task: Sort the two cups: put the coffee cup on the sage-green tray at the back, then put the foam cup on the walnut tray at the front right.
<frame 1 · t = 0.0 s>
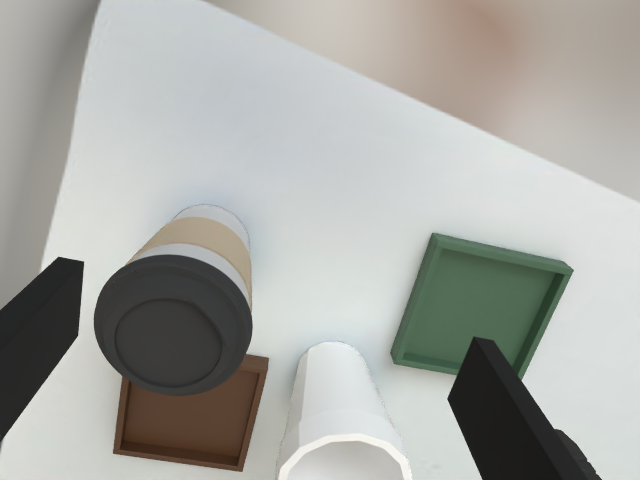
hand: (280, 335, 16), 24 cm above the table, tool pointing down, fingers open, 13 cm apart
sage tray: (474, 308, 44), on the table
coffee cup: (208, 243, 41), on the table
walnut tray: (191, 400, 46), on the table
foam cup: (330, 368, 46), on the table
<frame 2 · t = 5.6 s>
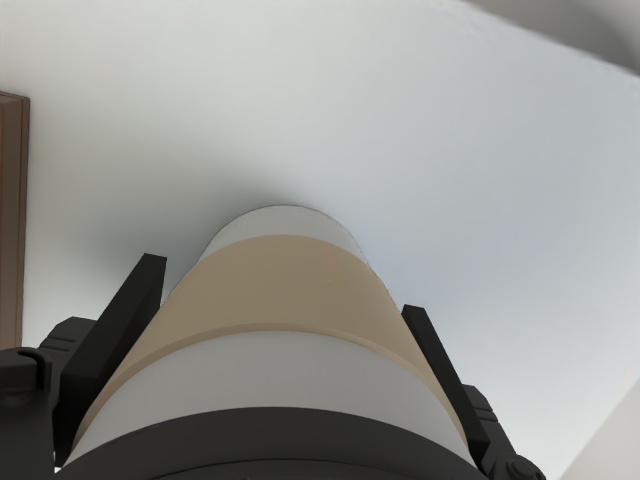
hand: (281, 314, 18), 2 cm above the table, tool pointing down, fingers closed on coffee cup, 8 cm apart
coffee cup: (283, 282, 20), on the table, touching gripper
when the fingers open (3 cm above the table, at t = 14.2 s): coffee cup stays where it is, resting on sage tray.
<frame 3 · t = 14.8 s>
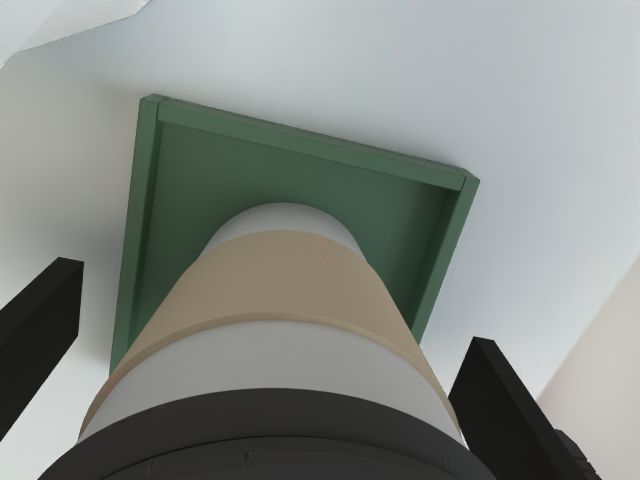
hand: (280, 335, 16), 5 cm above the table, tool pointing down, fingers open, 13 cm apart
sage tray: (282, 274, 21), on the table
coffee cup: (282, 278, 20), resting on sage tray
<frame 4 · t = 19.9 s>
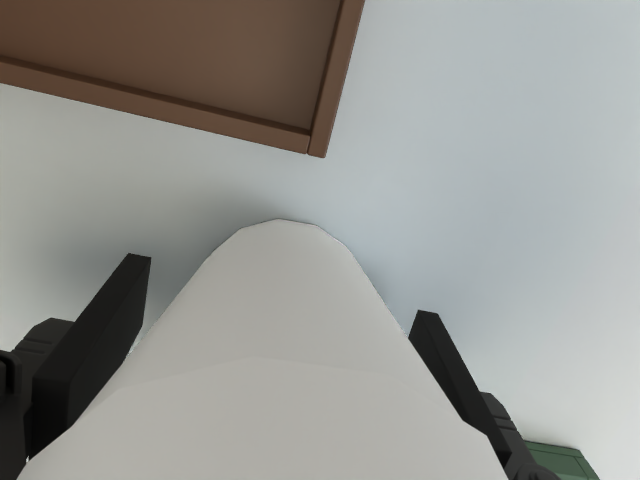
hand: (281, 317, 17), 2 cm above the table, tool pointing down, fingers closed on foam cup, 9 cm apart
foam cup: (282, 294, 19), on the table, touching gripper
when the fingers open (2 cm above the table, at t = 28.0 s): foam cup stays where it is, resting on walnut tray.
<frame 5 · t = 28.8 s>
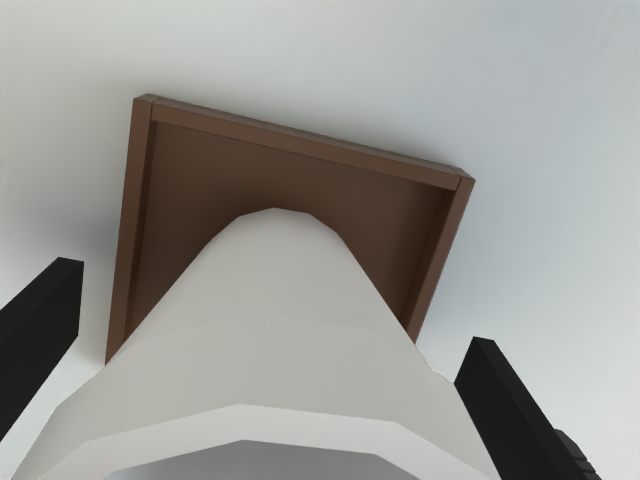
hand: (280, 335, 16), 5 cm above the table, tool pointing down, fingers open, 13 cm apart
walnut tray: (277, 275, 21), on the table
foam cup: (277, 278, 20), resting on walnut tray
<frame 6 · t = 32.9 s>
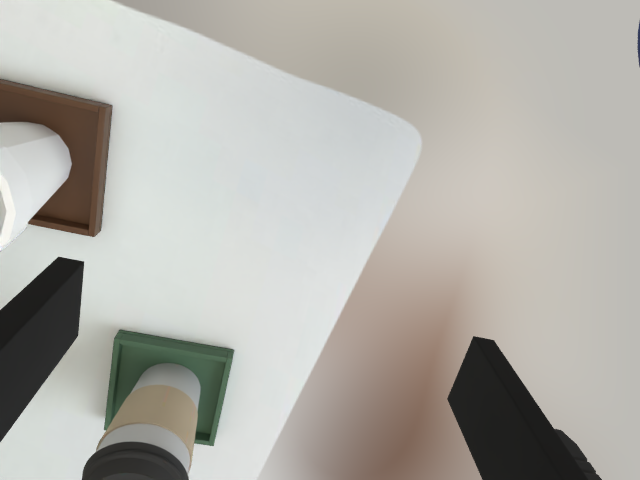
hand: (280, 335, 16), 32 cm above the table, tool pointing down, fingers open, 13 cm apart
sage tray: (170, 385, 55), on the table
coffee cup: (169, 387, 55), resting on sage tray
walnut tray: (37, 156, 45), on the table
foam cup: (36, 157, 45), resting on walnut tray
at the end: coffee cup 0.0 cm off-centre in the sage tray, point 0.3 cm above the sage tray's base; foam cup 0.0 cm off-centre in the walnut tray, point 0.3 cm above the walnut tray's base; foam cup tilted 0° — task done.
